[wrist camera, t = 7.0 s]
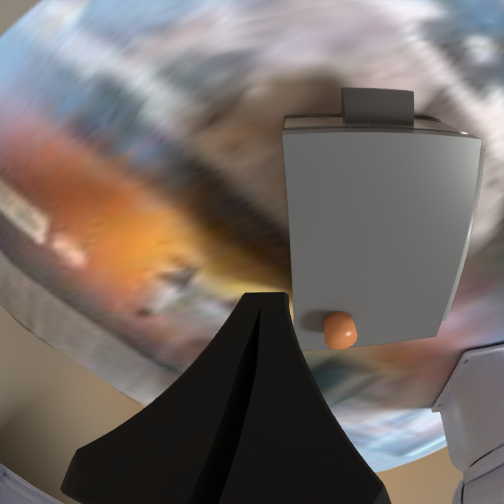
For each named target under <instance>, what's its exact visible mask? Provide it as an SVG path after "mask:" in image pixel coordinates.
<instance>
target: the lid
mask: <svg viewBox="0 0 504 504" xmlns="http://www.w3.org/2000/svg"><path fill="white" fill-rule="evenodd" d="M282 141H283V153H284V165H285V177H286V190H287V204H288V219H289V235H290V252H291V270H292V291H293V315H294V330H295V333H296V336H297V339H298V342H299V345H300V348H301V351H311V350H326V349H335V350H341V349H346V348H350V347H360V346H369V345H378V344H387V343H395V342H402V341H409V340H416V339H423V338H429V337H435V336H436V335H437V332H438V330H439V327H440V324H441V321H445V320H446V319H447V316H448V313H449V310H450V308H451V305H452V302H453V299H454V296H455V293H456V290H457V286H458V283H459V280H460V277H461V273H462V270H463V266H464V263H465V259H466V255H467V251H468V247H469V243H470V239H471V235H472V230H473V226H474V221H475V216H476V211H477V206H478V200H479V194H480V188H481V181H482V174H483V166H484V157H485V148H484V147H482V146H481V139H479V138H477V137H475V136H473V135H470V134H462V133H452V132H441V131H428V130H411V129H386V128H331V129H304V130H287V131H282Z"/></svg>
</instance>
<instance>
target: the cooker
mask: <svg viewBox="0 0 504 504" xmlns="http://www.w3.org/2000/svg"><path fill="white" fill-rule="evenodd" d="M341 98H342V114H315V115H291V116H285V127H284V129H285V131H287V130H304V129H331V128H386V129H411V130H428V131H441V132H452V133H462V134H467V133H466V132H464V131H462V130H459V129H457V128H455V127H453V126H450V125H448V124H445V123H443V122H441V120H439V119H435V118H425V117H414V92H413V91H408V90H396V89H380V88H352V87H341Z"/></svg>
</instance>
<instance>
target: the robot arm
mask: <svg viewBox="0 0 504 504" xmlns="http://www.w3.org/2000/svg"><path fill="white" fill-rule="evenodd" d="M431 410H432V412H440V414H441V418H442V422H443V427H444V431H445V436H446V441H447V446H448V451H449V456H450V459H451V462H452V463H453V465H454V466H455V467H456V468H457V469H458V470H460V471H461V472H463V478H464V479H462V480H461V481H460V482H459V484H458V486H457V488H456V490H455V493H454V496H453V501H452V504H504V344H501V345H497V346H492V347H487V348H482V349H476V350H471V351H467V352H465V353H464V354H463V355H462V357H461V359H460V360H459V362H458V364H457V366H456V368H455V370H454V372H453V373H452V375H451V377H450V379H449V381H448V382H447V384H446V386H445V387H444V389H443V391H442V393H441V394H440V396H439V397H438V399H437V401H436V402H435V404H434V405H433V407H432V409H431ZM60 489H61V491H62V493H63V494H65V495H67V496H68V497H70V498H72V499H74V500H76V501H78V502H80V503H82V504H391V501H390V498H389V495H388V493H387V490H386V488H385V486H384V484H383V482H382V481H381V480H380V479H379V477H378V476H377V475H376V474H375V473H374V472H373V470H372V469H371V468H370V467H369V465H368V464H367V463H366V462H365V460H364V459H363V458H362V456H361V455H360V454H359V452H358V451H357V450H356V448H355V447H354V445H353V444H352V443H351V441H350V440H349V438H348V437H347V435H346V434H345V432H344V431H343V429H342V428H341V426H340V425H339V423H338V421H337V420H336V418H335V417H334V415H333V414H332V412H331V410H330V409H329V407H328V405H327V403H326V401H325V400H324V398H323V396H322V394H321V392H320V390H319V388H318V386H317V385H316V383H315V381H314V378H313V376H312V374H311V372H310V370H309V368H308V365H307V363H306V361H305V358H304V356H303V353H302V351H301V348H300V345H299V342H298V339H297V336H296V333H295V330H294V327H293V324H292V319H291V315H290V310H289V295H288V294H287V293H285V292H254V293H244V294H243V295H242V297H241V299H240V300H239V302H238V304H237V305H236V307H235V308H234V310H233V311H232V313H231V314H230V316H229V317H228V319H227V320H226V322H225V323H224V325H223V326H222V327H221V329H220V330H219V331H218V333H217V334H216V335H215V337H214V338H213V340H212V341H211V342H210V343H209V345H208V346H207V347H206V348H205V349H204V351H203V352H202V353H201V354H200V355H199V357H198V358H197V359H196V360H195V361H194V362H193V364H192V365H191V366H190V367H189V368H188V369H187V370H186V371H185V372H184V373H183V374H182V375H181V376H180V377H179V378H178V379H177V380H176V381H175V382H174V383H173V384H172V385H171V386H170V387H169V388H168V389H167V390H165V391H164V392H163V393H162V394H161V395H160V396H159V397H157V398H156V399H155V400H154V401H153V402H152V403H150V404H149V405H148V406H147V407H145V408H144V409H143V410H142V411H140V412H139V413H137V414H136V415H134V416H133V417H131V418H130V419H129V420H127V421H126V422H124V423H123V424H121V425H120V426H118V427H117V428H116V429H114V430H112V431H111V432H109V433H107V434H105V435H104V436H102V437H100V438H98V439H96V440H95V441H93V442H91V443H89V444H87V445H85V446H83V447H81V448H79V449H77V451H76V452H75V455H74V456H73V458H72V460H71V463H70V465H69V468H68V470H67V473H66V475H65V478H64V480H63V483H62V485H61V488H60ZM0 504H64V503H62V502H60V501H58V500H56V499H54V498H53V497H51V496H49V495H47V494H45V493H44V492H42V491H40V490H39V489H37V488H35V487H34V486H32V485H30V483H28V482H27V481H25V480H24V479H22V478H21V477H19V476H18V475H16V474H14V473H13V472H12V471H10V470H9V469H7V468H6V467H5V466H3V465H1V464H0Z"/></svg>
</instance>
